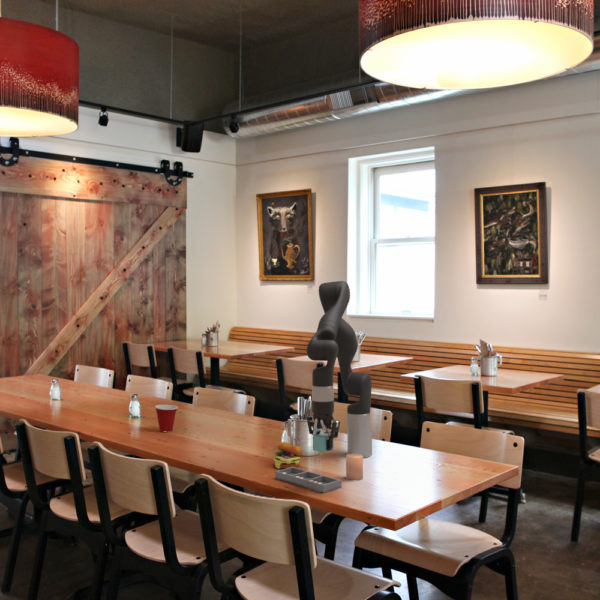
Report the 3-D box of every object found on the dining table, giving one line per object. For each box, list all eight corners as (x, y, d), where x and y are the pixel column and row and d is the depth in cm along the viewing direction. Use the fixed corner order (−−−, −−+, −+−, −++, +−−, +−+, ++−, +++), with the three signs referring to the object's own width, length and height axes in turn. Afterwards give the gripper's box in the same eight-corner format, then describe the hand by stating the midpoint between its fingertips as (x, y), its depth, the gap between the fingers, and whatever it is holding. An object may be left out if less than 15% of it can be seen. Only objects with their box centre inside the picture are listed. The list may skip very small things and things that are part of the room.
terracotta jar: (353, 474, 249) (353, 452, 249) (366, 478, 245) (366, 455, 245) (342, 478, 245) (342, 455, 245) (355, 481, 241) (355, 458, 241)
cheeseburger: (266, 466, 261) (270, 439, 263) (286, 467, 269) (290, 442, 270) (284, 471, 254) (289, 443, 256) (304, 472, 261) (308, 445, 263)
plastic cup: (175, 433, 320) (175, 407, 320) (152, 433, 320) (152, 408, 320) (180, 428, 331) (180, 403, 331) (158, 428, 331) (157, 403, 331)
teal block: (323, 447, 237) (323, 433, 237) (333, 450, 233) (333, 435, 233) (312, 450, 234) (312, 435, 233) (323, 452, 230) (323, 437, 230)
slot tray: (292, 473, 251) (292, 466, 251) (341, 487, 234) (341, 479, 234) (274, 478, 245) (274, 470, 245) (323, 493, 228) (323, 485, 228)
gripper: (346, 399, 231) (346, 450, 231) (315, 395, 241) (316, 443, 241) (330, 402, 225) (330, 454, 226) (300, 397, 236) (300, 447, 236)
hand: (323, 448), depth 234 cm, fingers closed on teal block, 5 cm apart
